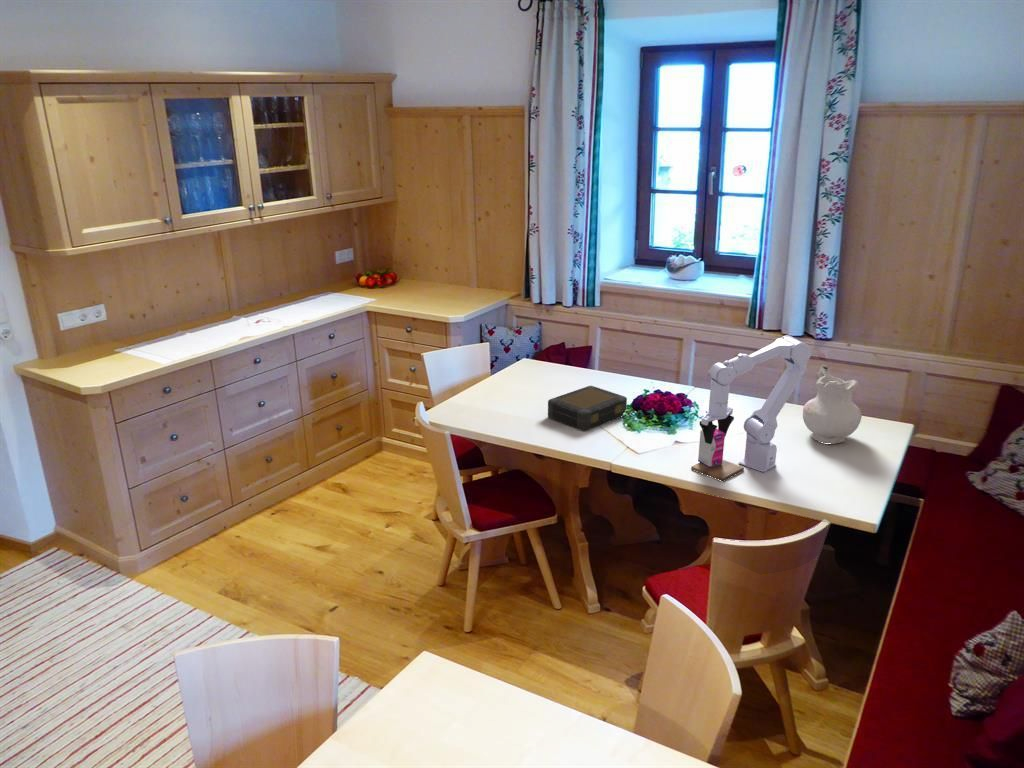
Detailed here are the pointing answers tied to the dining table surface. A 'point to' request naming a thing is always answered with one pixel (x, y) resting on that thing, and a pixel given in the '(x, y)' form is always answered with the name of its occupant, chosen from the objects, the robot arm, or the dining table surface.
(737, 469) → the cardboard square
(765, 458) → the robot arm
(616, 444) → the dining table surface
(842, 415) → the ceramic pitcher
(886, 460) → the dining table surface
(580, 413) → the cash box
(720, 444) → the supplement box
